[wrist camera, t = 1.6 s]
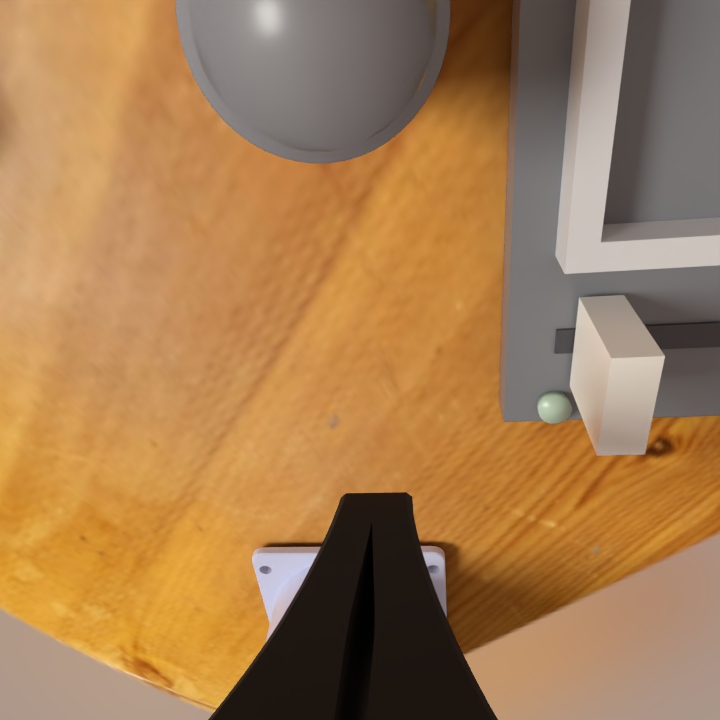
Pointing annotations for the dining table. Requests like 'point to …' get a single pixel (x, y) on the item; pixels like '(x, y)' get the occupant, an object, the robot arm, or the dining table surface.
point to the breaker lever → (615, 375)
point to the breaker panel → (612, 194)
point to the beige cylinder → (315, 69)
